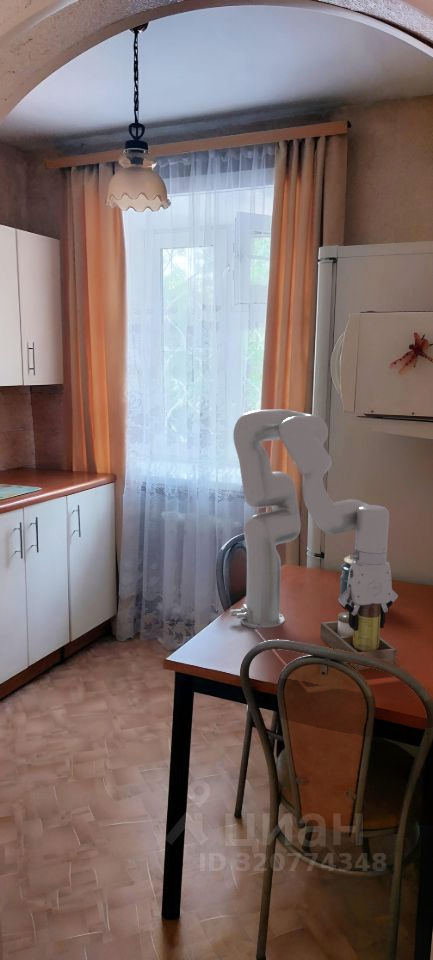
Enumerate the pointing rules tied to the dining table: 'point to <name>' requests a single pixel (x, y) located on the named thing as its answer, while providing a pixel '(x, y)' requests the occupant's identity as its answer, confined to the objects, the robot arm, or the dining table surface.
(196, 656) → the dining table surface
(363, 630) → the sauce bottle
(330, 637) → the caddy
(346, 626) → the spice jar
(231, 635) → the dining table surface
